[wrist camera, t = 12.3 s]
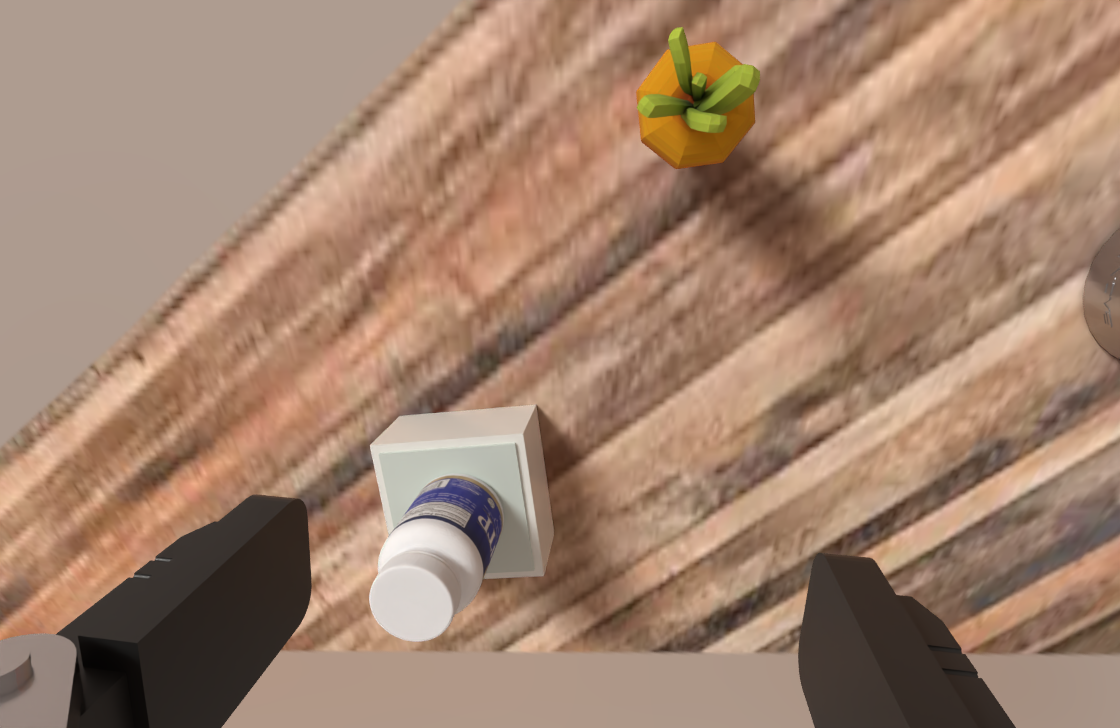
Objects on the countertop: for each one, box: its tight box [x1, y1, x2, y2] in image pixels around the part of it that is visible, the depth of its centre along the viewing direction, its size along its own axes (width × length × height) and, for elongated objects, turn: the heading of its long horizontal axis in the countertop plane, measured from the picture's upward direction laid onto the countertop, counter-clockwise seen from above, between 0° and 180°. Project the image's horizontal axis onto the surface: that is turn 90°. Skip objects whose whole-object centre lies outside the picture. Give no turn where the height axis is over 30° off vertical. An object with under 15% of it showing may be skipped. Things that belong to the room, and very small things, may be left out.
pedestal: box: [370, 405, 554, 579], centre depth 41 cm, size 9×9×5 cm
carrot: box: [636, 27, 760, 169], centre depth 29 cm, size 5×5×15 cm
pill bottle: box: [369, 473, 504, 642], centre depth 34 cm, size 5×5×9 cm
